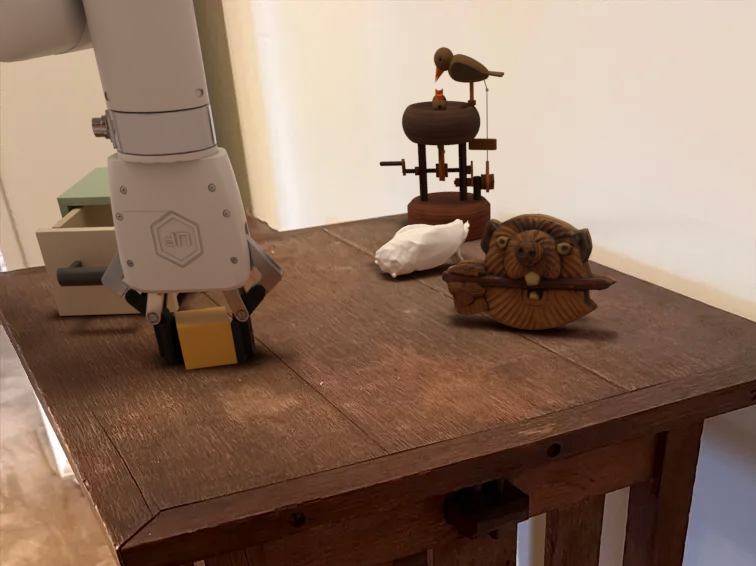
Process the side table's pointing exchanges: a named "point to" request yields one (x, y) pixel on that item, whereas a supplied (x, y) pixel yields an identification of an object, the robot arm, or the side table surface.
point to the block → (205, 337)
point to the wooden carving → (528, 274)
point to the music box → (450, 127)
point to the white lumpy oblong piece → (422, 247)
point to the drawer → (84, 263)
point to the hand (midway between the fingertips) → (210, 361)
